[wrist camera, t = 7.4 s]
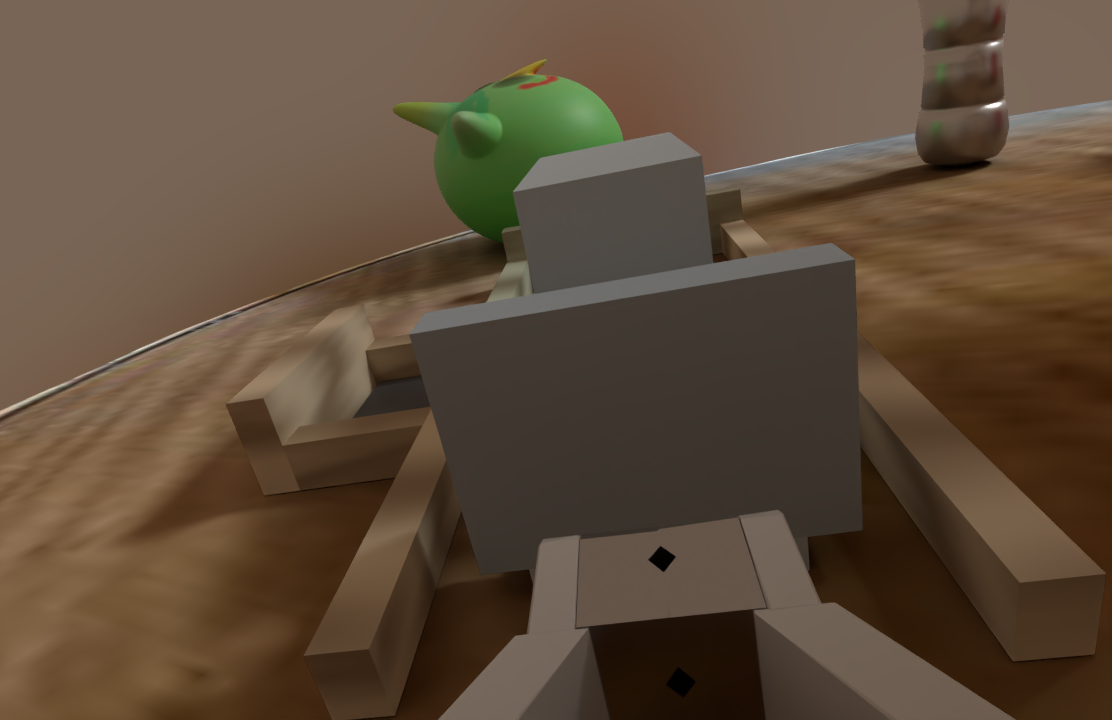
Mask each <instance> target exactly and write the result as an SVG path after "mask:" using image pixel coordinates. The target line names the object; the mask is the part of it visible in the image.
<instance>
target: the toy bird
mask: <svg viewBox="0 0 1112 720" xmlns="http://www.w3.org/2000/svg"><path fill="white" fill-rule="evenodd" d="M546 61H547V60H546V59H545V60H540V61H537V62H535V63H533V64H530V65H529V66H526V67H525V68H522V69H520V70H518V71H517V72H515V73H513V74H511V75H509V76H507V77H505V78H503V79H501V80H499V81H497V82H494V83H490V84H487V85H485V86H483V87H481V88H479V89H478V90H476V91H475V92H474V93H473V94H472V95H471V96H469V97H468V98H466V99H465V100H464V101H463V102H459V103H433V102H412V103H411V102H410V103H401V104H398V105H396V106H395V107H394V108H393V112H394V113H395V114H396V115H398V116H399V117H401V118H403V119H405V120H407V121H409V122H411V123H413V124H416V125H418V126H420V127H422V128H425V129H427V130H429V131H431V132H433V133H435V134H436V135H437V136H438V138H437V141H436V146H435V153H434V166H435V174H436V179H437V183H438V186H439V188H440V191H441V193H442V195H443V197H444V199H445V201H446V203H447V204H448V206H449V207H450V209H451V210H452V211H453V213H454V214H455V215H456V216H457V217H458V218H459V219H460V220H461V221H462V222H463V223H464V224H465V225H466V226H468V227H469V228H470V229H472V230H473V231H475V232H476V233H478V234H480V235H482V236H484V237H486V238H488V239H491V240H494V241H497V242H502V243H503V239H502V234H501V233H502V231H503V229H504V228H510V227H515V226H520V224H519V219H518V215H517V210H516V206H515V201H514V196H513V191H514V190H515V188H516V187H517V186H518V185H519V183H520V182H521V181H522V180H523V178H524V177H525V176H526V175H527V173H528V172H529V171H530V170H531V168H532V167H533V166H534V165H535V163H536V162H537V161H538V160H539V158H542V157H547V156H552V155H557V154H562V153H567V152H572V151H577V150H582V149H587V148H592V147H597V146H602V145H607V144H612V143H617V142H622V141H623V136H622V133H621V130H620V127H619V125H618V123H617V121H616V119H615V117H614V116H613V114H612V113H611V111H610V110H609V108H608V107H607V106H606V104H605V103H604V102H603V101H602V100H601V99H600V98H599V97H598V96H597V95H596V94H594V93H593V92H592V91H590V90H589V89H587V88H586V87H584V86H582V85H580V84H579V83H576V82H574V81H572V80H569V79H565V78H562V77H557V76H550V75H535V73H536V72H537V71H538V70H539V69H540V68H541V67H542V66H543V65H544V64H545V63H546Z"/></svg>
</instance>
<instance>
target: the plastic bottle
mask: <svg viewBox="0 0 1112 720" xmlns="http://www.w3.org/2000/svg"><path fill="white" fill-rule="evenodd" d="M918 1H919V7H920V14H921V22H922V29H923V48H925V55H924V77H923V89H922V100H921V108H922V109H921V111H920V112H919V116H918V121H917V128H916V135H915V140H916V146H917V151H918V155H919V156H920V157H921V159H922V160H923V161H924V162H925V163H928V164H937V165H946V166H964V165H968V164H971V163H975V162H978V161H981V160H985V159H988V158H991V157H994V156H996V155H998V154H999V152H1000V151H1001V150H1002V148H1003V147H1004V146H1005V143H1006V138H1007V134H1008V130H1009V118H1008V109H1007V104H1006V100H1004V77H1003V55H1002V53H1003V43H1004V41H1003V34H1004V33H1005V23H1006V12H1007V7H1008V1H1009V0H918Z"/></svg>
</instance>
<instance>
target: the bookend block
mask: <svg viewBox="0 0 1112 720" xmlns="http://www.w3.org/2000/svg"><path fill="white" fill-rule="evenodd" d="M513 196H514V201H515V206H516V210H517V215H518V219H519V224H520V229H521V233H522V238H523V243H524V247H525V252H526V256H527V261H528V266H529V270H530V275H531V280H532V284H533V289H534V293H535V294H532V295H527V296H521V297H515V298H509V299H503V300H497V301H492V302H486V303H480V304H474V305H468V306H463V307H457V308H451V309H445V310H439V311H434V312H428V313H425V314H424V315H423V317H422V318H421V319H420V321H419V322H418V323H417V325H416V326H415V327H414V329H413V330H412V331H411V333H410V334H409V336H410V339H411V342H412V346H413V349H414V352H415V356H416V359H417V363H418V366H419V369H420V373H421V376H422V379H423V383H424V386H425V390H426V393H427V396H428V400H429V403H430V406H431V410H432V413H433V417H434V420H435V423H436V427H437V430H438V433H439V437H440V440H441V443H442V447H443V450H444V454H445V457H446V460H447V464H448V467H449V470H450V474H451V477H452V481H453V484H454V487H455V491H456V494H457V497H458V501H459V504H460V508H461V511H462V514H463V518H464V521H465V524H466V528H467V531H468V534H469V538H470V541H471V545H472V548H473V551H474V555H475V558H476V561H477V565H478V568H479V572H480V575H485V574H493V573H502V572H511V571H519V570H528V569H529V571H530V575H531V579H532V583H533V585H534V577H535V570H536V562H537V555H538V548H539V545H540V544H541V542H542V540H543V539H549V538H557V537H566V536H574V535H579V536H581V535H582V534H592V533H602V532H611V531H621V530H631V529H641V528H651V527H666V526H674V525H681V524H689V523H697V522H705V521H713V520H721V519H729V518H737V517H738V516H740V515H747V514H753V513H760V512H766V511H773V510H779V511H780V512H782V513H783V514H784V517H785V519H786V522H787V524H788V526H789V529H790V531H791V533H792V536H793V538H794V540H795V543H796V545H797V547H798V550H799V552H800V554H801V557H802V559H803V561H804V564H805V566H806V568H807V571H809V570H810V566H809V551H808V537H810V536H819V535H827V534H836V533H844V532H853V531H862V530H863V522H862V487H861V451H860V416H859V381H858V346H857V311H856V276H855V259H854V258H852V257H851V256H850V255H848V254H847V253H845V252H844V251H842V250H841V249H839V248H838V247H837V246H835V245H834V244H832V243H829V244H823V245H817V246H811V247H805V248H800V249H794V250H788V251H782V252H776V253H771V254H765V255H759V256H753V257H747V258H741V259H736V260H730V261H724V262H718V263H713V255H712V246H711V237H710V228H709V219H708V210H707V201H706V192H705V183H704V174H703V164H702V156H701V155H700V154H699V153H697V152H696V151H695V150H693V149H692V148H691V147H689V146H688V145H686V144H685V143H684V142H682V141H681V140H680V139H678V138H677V137H675V136H674V135H673V134H671V133H670V132H668V133H663V134H658V135H653V136H648V137H643V138H637V139H633V140H627V141H622V142H617V143H612V144H607V145H602V146H597V147H592V148H587V149H582V150H577V151H572V152H567V153H562V154H557V155H552V156H547V157H542V158H539V160H538V161H537V162H536V163H535V165H534V166H533V167H532V168H531V170H530V171H529V172H528V173H527V175H526V176H525V177H524V178H523V180H522V181H521V182H520V183H519V185H518V186H517V187H516V188H515V190H514V191H513Z"/></svg>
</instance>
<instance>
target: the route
mask: <svg viewBox="0 0 1112 720" xmlns="http://www.w3.org/2000/svg"><path fill="white" fill-rule="evenodd" d="M705 192H706V201H707V210H708V219H709V228H710V237H711V246H712V255H714V254H720V253H723V254H724V255H725V257H726V258H727V260H728V261H730V260H736V259H741V258H747V257H753V256H759V255H765V254H771V253H776V252H775V251H774V250H773V249H772V248H771V247H770V246H769V245H768V244H767V243H766V242H765V241H764V240H763V239H762V238H761V237H760V236H759V235H758V234H757V233H756V232H755V231H754V230H753V229H752V228H751V227H750V226H749V225H748V224H747V223H746V222H745V221H744V220H743V216H742V205H741V193H740V189H739V188H738V187H737V186H732V187H727V188H722V189H716V190H711V191H705ZM501 234H502V239H503V243H504V248H505V252H506V257H507V261H508V262H507V263H506V265H505V267H504V269H503V271H502V273H501V275H500V277H499V279H498V281H497V283H496V285H495V287H494V289H493V291H492V292H491V294H490V296H489V298H488V300H487V302H492V301H497V300H503V299H509V298H515V297H521V296H527V295H532V292H533V284H532V280H531V275H530V270H529V266H528V261H527V256H526V252H525V247H524V243H523V238H522V233H521V229H520V226H515V227H510V228H504V229H503V231H502V233H501ZM857 346H858V381H859V416H860V447H861V448H862V450H863V451H864V452H865V454H866V455H867V457H868V458H869V459H870V461H871V462H872V464H873V465H874V467H875V468H876V469H877V471H878V472H879V474H880V475H881V476H882V478H883V479H884V481H885V482H886V483H887V485H888V486H889V488H890V489H891V490H892V492H893V493H894V495H895V496H896V497H897V499H898V500H899V502H900V503H901V505H902V506H903V507H904V509H905V510H906V512H907V513H908V514H909V516H910V517H911V519H912V520H913V521H914V523H915V524H916V526H917V527H918V528H919V530H920V531H921V533H922V534H923V535H924V537H925V538H926V540H927V541H928V543H929V544H930V545H931V547H932V548H933V550H934V551H935V552H936V554H937V555H938V557H939V558H940V559H941V561H942V562H943V564H944V565H945V566H946V568H947V569H948V571H949V572H950V573H951V575H952V576H953V578H954V579H955V581H956V582H957V583H958V585H959V586H960V588H961V589H962V590H963V592H964V593H965V595H966V596H967V597H968V599H969V600H970V602H971V603H972V604H973V606H974V607H975V609H976V610H977V611H978V613H979V614H980V616H981V617H982V618H983V620H984V621H985V623H986V624H987V626H988V627H989V628H990V630H991V631H992V633H993V634H994V635H995V637H996V638H997V640H998V641H999V642H1000V644H1001V645H1002V647H1003V648H1004V649H1005V651H1006V652H1007V654H1008V655H1009V656H1010V658H1011V659H1012V661H1025V660H1036V659H1048V658H1059V657H1070V656H1082V655H1093V654H1095V649H1096V642H1097V635H1098V628H1099V621H1100V614H1101V607H1102V601H1103V594H1104V587H1105V580H1106V573H1105V572H1104V571H1103V570H1102V569H1101V568H1100V567H1099V566H1098V565H1097V564H1096V563H1095V562H1094V561H1093V560H1092V559H1091V558H1090V557H1089V556H1088V555H1086V554H1085V553H1084V552H1083V551H1082V550H1081V549H1080V548H1079V547H1078V546H1077V545H1076V544H1075V543H1074V542H1073V541H1072V540H1071V539H1070V538H1069V537H1068V536H1067V535H1066V534H1065V533H1064V532H1063V531H1062V530H1061V529H1060V528H1059V527H1058V526H1057V525H1056V524H1055V523H1054V522H1053V521H1052V520H1051V519H1050V518H1049V517H1047V516H1046V515H1045V514H1044V513H1043V512H1042V511H1041V510H1040V509H1039V508H1038V507H1037V506H1036V505H1035V504H1034V503H1033V502H1032V501H1031V500H1030V499H1029V498H1028V497H1027V496H1026V495H1025V494H1024V493H1023V492H1022V491H1021V490H1020V489H1019V488H1018V487H1017V486H1016V485H1015V484H1014V483H1013V482H1012V481H1011V480H1010V479H1008V478H1007V477H1006V476H1005V475H1004V474H1003V473H1002V472H1001V471H1000V470H999V469H998V468H997V467H996V466H995V465H994V464H993V463H992V462H991V461H990V460H989V459H988V458H987V457H986V456H985V455H984V454H983V453H982V452H981V451H980V450H979V449H978V448H977V447H976V446H975V445H974V444H973V443H972V442H970V441H969V440H968V439H967V438H966V437H965V436H964V435H963V434H962V433H961V432H960V431H959V430H958V429H957V428H956V427H955V426H954V425H953V424H952V423H951V422H950V421H949V420H948V419H947V418H946V417H945V416H944V415H943V414H942V413H941V412H940V411H939V410H938V409H937V408H936V407H935V406H934V405H933V404H931V403H930V402H929V401H928V400H927V399H926V398H925V397H924V396H923V395H922V394H921V393H920V392H919V391H918V390H917V389H916V388H915V387H914V386H913V385H912V384H911V383H910V382H909V381H908V380H907V379H906V378H905V377H904V376H903V375H902V374H901V373H900V372H899V371H898V370H897V369H896V368H895V367H894V366H892V365H891V364H890V363H889V362H888V361H887V360H886V359H885V358H884V357H883V356H882V355H881V354H880V353H879V352H878V351H877V350H876V349H875V348H874V347H873V346H872V345H871V344H870V343H869V342H868V341H867V340H866V339H865V338H864V337H863V336H862V335H861V334H860V333H859V332H858V331H857ZM226 407H227V409H228V411H229V414H230V416H231V418H232V421H233V423H234V425H235V428H236V430H237V433H238V435H239V437H240V440H241V442H242V444H243V447H244V449H245V451H246V454H247V456H248V459H249V461H250V463H251V466H252V468H253V470H254V473H255V475H256V477H257V480H258V482H259V485H260V487H261V489H262V492H263V494H264V495H271V494H279V493H286V492H293V491H301V490H308V489H315V488H322V487H330V486H337V485H344V484H352V483H359V482H366V481H374V480H381V479H388V478H395V480H394V482H393V484H392V486H391V488H390V490H389V492H388V493H387V495H386V497H385V499H384V501H383V503H382V505H381V507H380V509H379V511H378V513H377V515H376V517H375V519H374V521H373V522H372V524H371V526H370V528H369V530H368V532H367V534H366V536H365V538H364V540H363V542H362V544H361V546H360V548H359V550H358V551H357V553H356V555H355V557H354V559H353V561H352V563H351V565H350V567H349V569H348V571H347V573H346V575H345V577H344V579H343V580H342V582H341V584H340V586H339V588H338V590H337V592H336V594H335V596H334V598H333V600H332V602H331V604H330V606H329V608H328V609H327V611H326V613H325V615H324V617H323V619H322V621H321V623H320V625H319V627H318V629H317V631H316V633H315V635H314V637H313V638H312V640H311V642H310V644H309V646H308V648H307V650H306V652H305V654H304V658H305V660H306V662H307V665H308V667H309V669H310V671H311V674H312V676H313V678H314V680H315V683H316V685H317V687H318V689H319V692H320V694H321V696H322V698H323V701H324V703H325V705H326V707H327V710H328V712H329V714H330V716H331V719H332V720H352V719H363V718H374V717H386V716H395V714H396V711H397V708H398V705H399V702H400V699H401V696H402V693H403V690H404V687H405V683H406V680H407V677H408V674H409V671H410V668H411V665H412V662H413V659H414V656H415V653H416V650H417V646H418V643H419V640H420V637H421V634H422V631H423V628H424V625H425V622H426V619H427V616H428V613H429V609H430V606H431V603H432V600H433V597H434V594H435V591H436V588H437V585H438V582H439V579H440V576H441V572H442V569H443V566H444V563H445V560H446V557H447V554H448V551H449V548H450V545H451V542H452V539H453V535H454V532H455V529H456V526H457V523H458V520H459V517H460V514H461V508H460V504H459V501H458V497H457V494H456V491H455V487H454V484H453V481H452V477H451V474H450V470H449V467H448V464H447V460H446V457H445V454H444V450H443V447H442V443H441V440H440V437H439V433H438V430H437V427H436V423H435V420H434V417H433V413H432V410H431V406H430V403H429V400H428V396H427V393H426V390H425V386H424V383H423V379H422V376H421V373H420V369H419V366H418V363H417V359H416V356H415V352H414V349H413V346H412V342H411V339H410V336H409V334H408V335H402V336H395V337H389V338H383V339H377V340H375V339H374V336H373V333H372V330H371V327H370V324H369V320H368V317H367V314H366V311H365V308H364V305H363V304H361V305H356V306H350V307H344V308H338V309H335V310H334V311H333V312H332V313H331V314H329V315H328V316H327V317H326V318H325V319H324V320H323V321H321V322H320V323H319V324H318V325H317V326H316V327H314V328H313V329H312V330H311V331H310V332H309V333H307V334H306V335H305V336H304V337H303V338H302V339H300V340H299V341H298V342H297V343H296V344H295V345H293V346H292V347H291V348H290V349H289V350H288V351H286V352H285V353H284V354H283V355H282V356H281V357H279V358H278V359H277V360H276V361H275V362H274V363H272V364H271V365H270V366H269V367H268V368H267V369H266V370H264V371H263V372H262V373H261V374H260V375H259V376H257V377H256V378H255V379H254V380H253V381H252V382H250V383H249V384H248V385H247V386H246V387H245V388H243V389H242V390H241V391H240V392H239V393H238V394H236V395H235V396H234V397H233V398H232V399H231V400H229V401H228V402H227V403H226Z"/></svg>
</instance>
